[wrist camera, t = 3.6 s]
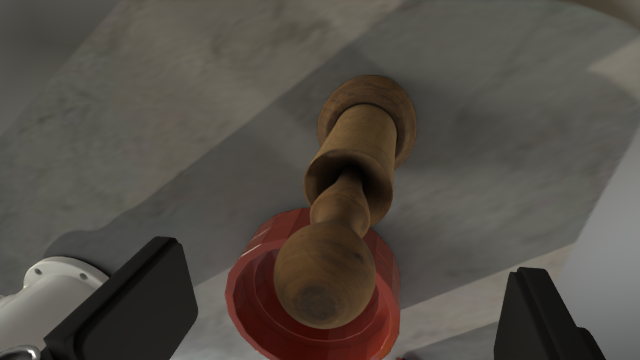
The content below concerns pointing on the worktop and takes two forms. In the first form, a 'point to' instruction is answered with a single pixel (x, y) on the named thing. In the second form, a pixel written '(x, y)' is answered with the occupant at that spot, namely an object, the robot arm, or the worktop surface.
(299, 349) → the bowl
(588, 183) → the worktop surface
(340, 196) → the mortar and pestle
